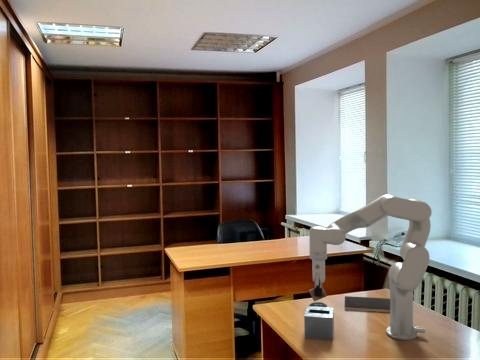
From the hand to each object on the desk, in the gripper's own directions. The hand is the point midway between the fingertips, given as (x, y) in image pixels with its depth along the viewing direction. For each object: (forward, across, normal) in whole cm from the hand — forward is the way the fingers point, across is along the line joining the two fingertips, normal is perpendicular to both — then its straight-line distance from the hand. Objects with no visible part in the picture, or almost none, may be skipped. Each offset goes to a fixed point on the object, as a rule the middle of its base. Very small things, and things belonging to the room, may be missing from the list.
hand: (318, 295), depth 189 cm
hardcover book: (+18, +38, -22) cm, 48 cm away
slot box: (+17, 0, 0) cm, 17 cm away
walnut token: (+1, 0, -1) cm, 1 cm away
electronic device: (+18, +26, +2) cm, 32 cm away
